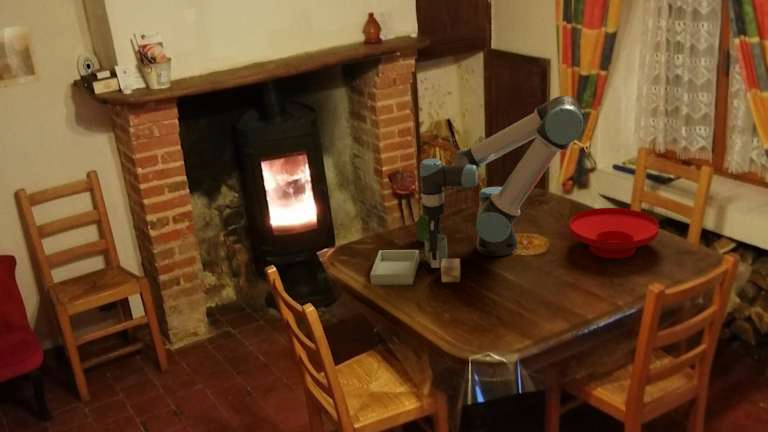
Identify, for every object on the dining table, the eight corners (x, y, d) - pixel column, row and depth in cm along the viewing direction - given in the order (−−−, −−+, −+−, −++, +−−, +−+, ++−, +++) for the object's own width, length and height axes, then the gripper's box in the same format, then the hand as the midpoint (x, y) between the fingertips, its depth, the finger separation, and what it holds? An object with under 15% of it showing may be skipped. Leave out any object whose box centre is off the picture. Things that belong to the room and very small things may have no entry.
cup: (446, 268, 289) (444, 243, 285) (424, 268, 291) (422, 243, 287) (449, 259, 296) (447, 233, 292) (428, 258, 298) (426, 233, 294)
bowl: (562, 263, 285) (562, 237, 281) (577, 228, 311) (577, 204, 307) (653, 271, 274) (655, 244, 270) (661, 235, 300) (662, 209, 296)
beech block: (460, 274, 285) (459, 258, 283) (459, 282, 279) (458, 266, 277) (443, 274, 286) (442, 258, 284) (441, 282, 280) (440, 266, 278)
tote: (419, 259, 298) (418, 250, 296) (412, 284, 280) (411, 274, 279) (380, 260, 300) (379, 250, 299) (371, 285, 283) (370, 274, 281)
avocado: (441, 241, 311) (439, 212, 306) (424, 248, 307) (422, 218, 302) (428, 235, 317) (426, 206, 312) (411, 241, 313) (409, 212, 309)
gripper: (425, 191, 296) (429, 247, 304) (418, 215, 275) (422, 275, 284) (446, 190, 294) (450, 246, 303) (440, 215, 274) (444, 274, 282)
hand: (436, 260), depth 293 cm, fingers open, 10 cm apart
